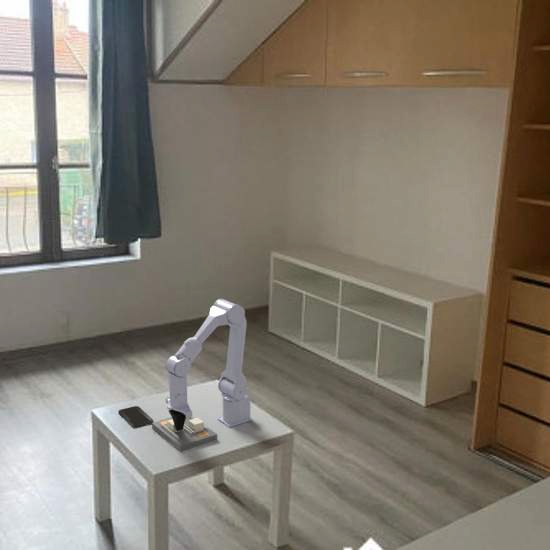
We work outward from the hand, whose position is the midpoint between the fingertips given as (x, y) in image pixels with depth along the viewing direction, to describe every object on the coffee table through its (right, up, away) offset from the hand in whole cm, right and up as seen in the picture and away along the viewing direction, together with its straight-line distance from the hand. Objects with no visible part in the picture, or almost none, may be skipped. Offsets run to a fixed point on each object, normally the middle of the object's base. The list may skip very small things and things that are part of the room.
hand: (179, 429), depth 241 cm
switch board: (+1, -2, +4) cm, 5 cm away
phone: (-18, 0, +16) cm, 24 cm away
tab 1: (-2, -1, +3) cm, 3 cm away
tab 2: (+5, -1, +3) cm, 6 cm away
